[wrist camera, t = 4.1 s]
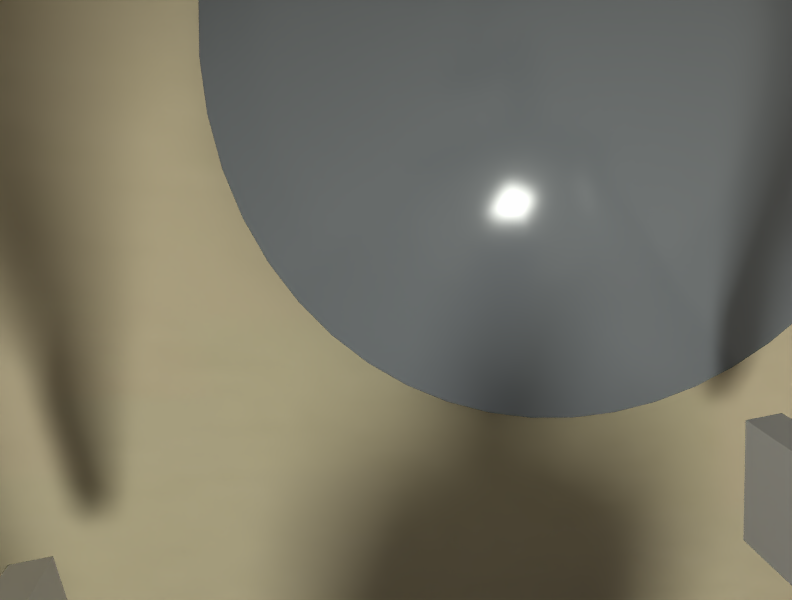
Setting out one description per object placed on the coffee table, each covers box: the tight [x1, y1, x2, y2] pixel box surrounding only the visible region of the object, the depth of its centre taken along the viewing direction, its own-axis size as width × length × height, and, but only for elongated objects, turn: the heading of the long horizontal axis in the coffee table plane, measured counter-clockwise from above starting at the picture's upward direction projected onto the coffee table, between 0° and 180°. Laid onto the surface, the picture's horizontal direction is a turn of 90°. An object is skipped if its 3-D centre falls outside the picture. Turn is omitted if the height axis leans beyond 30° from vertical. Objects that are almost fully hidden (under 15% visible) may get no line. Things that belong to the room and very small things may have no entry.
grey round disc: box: [199, 0, 792, 418], centre depth 12 cm, size 14×14×1 cm
